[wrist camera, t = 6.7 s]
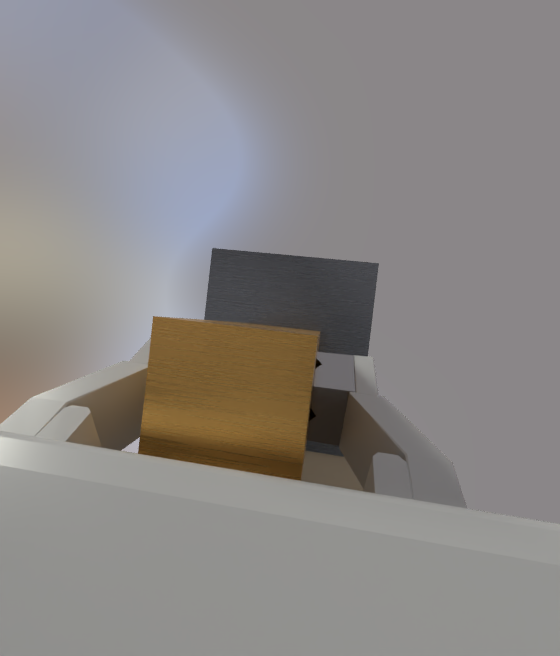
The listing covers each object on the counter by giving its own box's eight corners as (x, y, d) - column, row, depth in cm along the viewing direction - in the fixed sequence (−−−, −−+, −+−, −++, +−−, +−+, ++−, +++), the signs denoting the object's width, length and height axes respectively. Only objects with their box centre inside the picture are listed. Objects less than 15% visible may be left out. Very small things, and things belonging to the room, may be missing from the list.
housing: (402, 647, 6) (461, 168, 6) (26, 564, 7) (70, 146, 7) (344, 415, 21) (360, 284, 21) (232, 399, 22) (247, 273, 22)
